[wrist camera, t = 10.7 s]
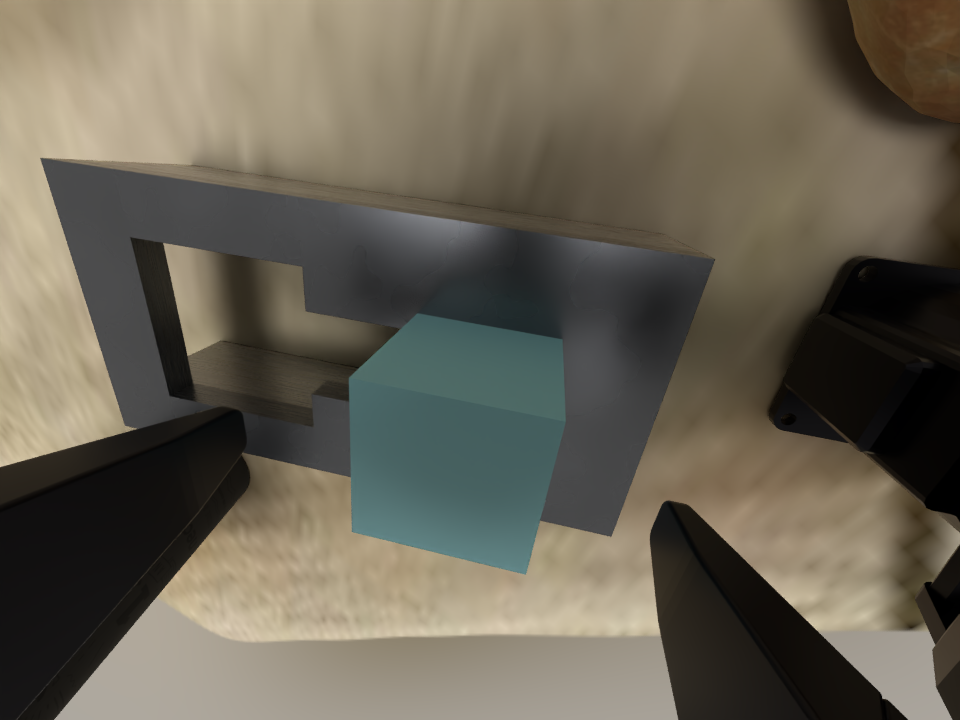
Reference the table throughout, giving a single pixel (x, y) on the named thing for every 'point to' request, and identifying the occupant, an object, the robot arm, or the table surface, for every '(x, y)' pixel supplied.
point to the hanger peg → (456, 439)
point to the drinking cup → (137, 599)
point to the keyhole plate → (379, 307)
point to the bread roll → (913, 50)
